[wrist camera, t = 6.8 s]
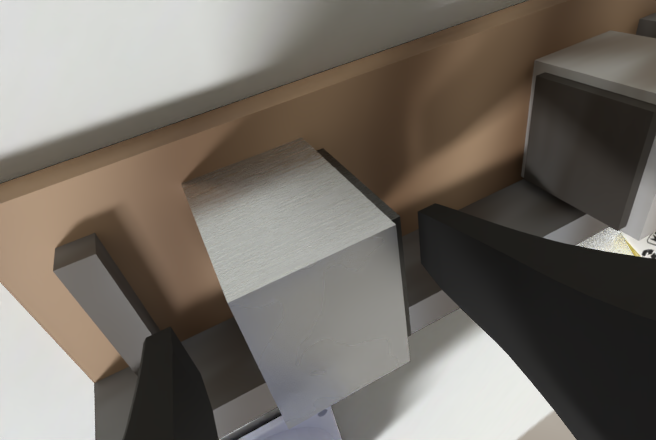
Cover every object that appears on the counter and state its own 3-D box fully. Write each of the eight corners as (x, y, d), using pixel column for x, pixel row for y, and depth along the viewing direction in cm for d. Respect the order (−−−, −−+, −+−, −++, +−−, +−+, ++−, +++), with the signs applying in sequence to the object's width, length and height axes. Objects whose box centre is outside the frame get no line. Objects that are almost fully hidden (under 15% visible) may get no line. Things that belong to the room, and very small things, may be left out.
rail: (648, -41, 16) (873, -33, 12) (603, 144, 21) (749, 202, 17) (-43, 198, 11) (-145, 407, 6) (113, 378, 15) (125, 570, 11)
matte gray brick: (340, 252, 15) (422, 354, 12) (235, 301, 15) (288, 429, 11) (313, 132, 13) (412, 216, 9) (180, 183, 12) (227, 303, 8)
